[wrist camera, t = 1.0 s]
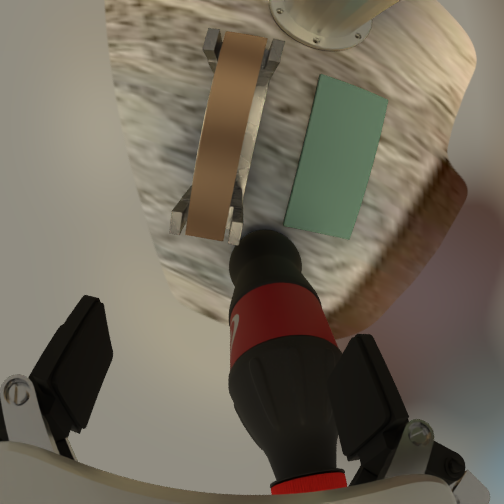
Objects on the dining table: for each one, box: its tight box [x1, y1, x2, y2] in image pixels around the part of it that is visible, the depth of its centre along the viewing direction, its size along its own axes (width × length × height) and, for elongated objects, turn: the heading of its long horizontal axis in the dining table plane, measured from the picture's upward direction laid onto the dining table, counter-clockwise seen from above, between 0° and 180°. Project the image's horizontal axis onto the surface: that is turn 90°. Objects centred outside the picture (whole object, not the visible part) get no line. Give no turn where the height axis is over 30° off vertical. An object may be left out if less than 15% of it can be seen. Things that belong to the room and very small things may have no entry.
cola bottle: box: [229, 230, 347, 495], centre depth 22 cm, size 8×8×30 cm
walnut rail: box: [185, 31, 268, 241], centre depth 19 cm, size 16×3×3 cm, turn 168°
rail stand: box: [169, 28, 285, 245], centre depth 23 cm, size 20×6×12 cm, turn 168°
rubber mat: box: [283, 74, 388, 240], centre depth 30 cm, size 19×9×1 cm, turn 168°
